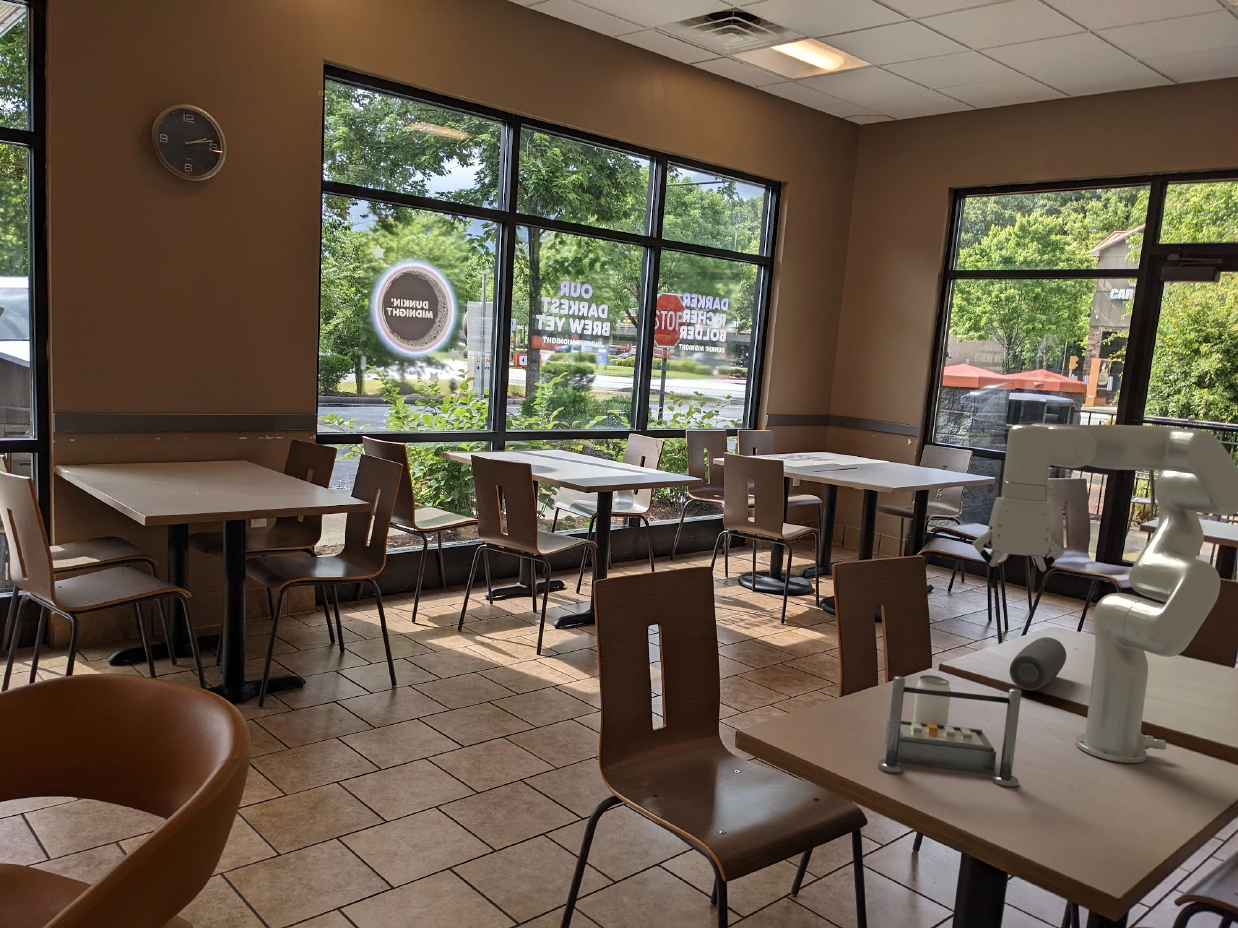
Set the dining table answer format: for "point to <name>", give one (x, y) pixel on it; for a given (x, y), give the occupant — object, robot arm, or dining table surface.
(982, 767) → the breaker panel
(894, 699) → the cord stand
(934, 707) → the can
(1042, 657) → the bluetooth speaker
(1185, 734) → the dining table surface
